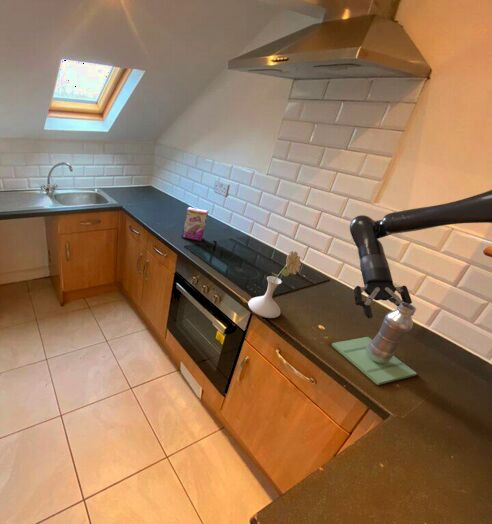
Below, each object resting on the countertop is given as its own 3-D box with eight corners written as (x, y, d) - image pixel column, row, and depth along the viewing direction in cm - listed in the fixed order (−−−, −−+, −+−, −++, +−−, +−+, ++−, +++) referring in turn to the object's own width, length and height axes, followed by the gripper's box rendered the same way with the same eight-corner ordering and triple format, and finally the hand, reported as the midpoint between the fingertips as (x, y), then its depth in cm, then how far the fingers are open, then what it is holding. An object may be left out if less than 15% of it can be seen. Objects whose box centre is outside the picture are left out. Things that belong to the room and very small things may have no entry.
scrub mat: (366, 338, 103) (367, 336, 102) (415, 375, 89) (417, 373, 89) (331, 345, 98) (332, 342, 97) (377, 385, 85) (379, 382, 84)
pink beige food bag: (181, 237, 165) (186, 209, 157) (183, 234, 169) (188, 206, 162) (201, 241, 163) (208, 213, 155) (202, 238, 167) (208, 210, 159)
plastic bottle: (367, 362, 91) (400, 310, 81) (359, 348, 96) (390, 297, 87) (391, 369, 89) (428, 316, 80) (382, 353, 95) (415, 302, 86)
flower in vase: (257, 322, 105) (279, 259, 93) (241, 302, 114) (260, 243, 103) (289, 320, 107) (315, 259, 96) (271, 301, 117) (293, 243, 105)
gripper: (354, 266, 99) (363, 314, 92) (406, 265, 94) (420, 315, 88) (346, 275, 105) (355, 320, 99) (395, 274, 101) (408, 321, 94)
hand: (386, 318), depth 93 cm, fingers open, 8 cm apart
